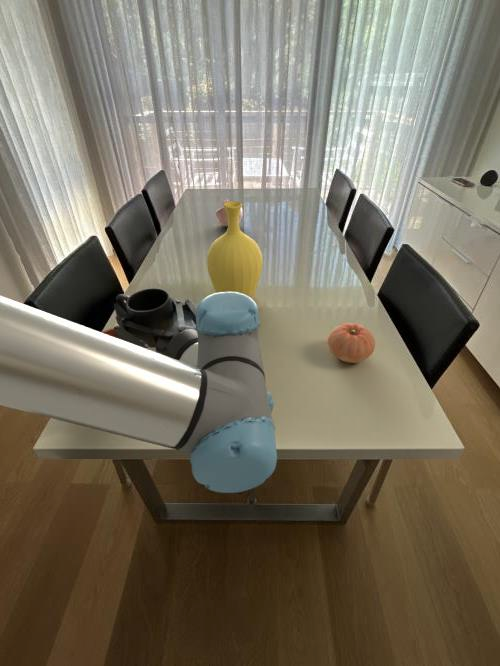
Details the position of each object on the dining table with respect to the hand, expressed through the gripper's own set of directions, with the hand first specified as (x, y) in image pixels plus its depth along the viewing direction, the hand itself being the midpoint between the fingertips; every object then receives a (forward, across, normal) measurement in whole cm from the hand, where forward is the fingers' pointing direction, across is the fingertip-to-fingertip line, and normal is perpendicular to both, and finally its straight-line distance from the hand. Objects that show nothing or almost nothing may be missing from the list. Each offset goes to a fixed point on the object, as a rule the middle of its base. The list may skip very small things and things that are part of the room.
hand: (138, 301), depth 69 cm
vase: (+13, +34, -18) cm, 41 cm away
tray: (+11, +8, -18) cm, 23 cm away
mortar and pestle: (+65, +69, -18) cm, 96 cm away
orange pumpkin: (-26, +39, -18) cm, 50 cm away
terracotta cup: (+4, -6, -18) cm, 19 cm away
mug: (-5, 0, -6) cm, 8 cm away
